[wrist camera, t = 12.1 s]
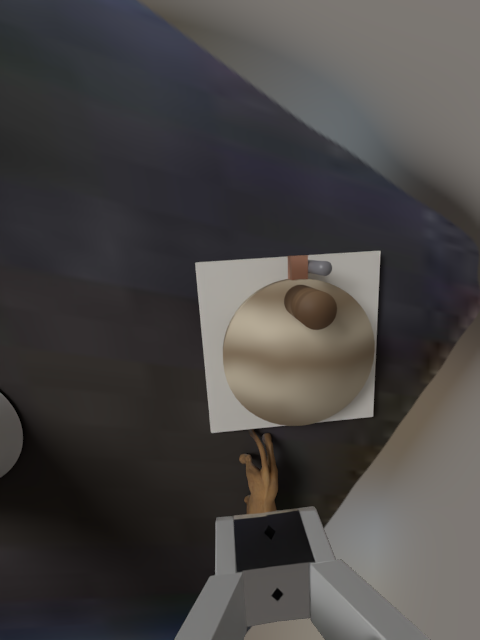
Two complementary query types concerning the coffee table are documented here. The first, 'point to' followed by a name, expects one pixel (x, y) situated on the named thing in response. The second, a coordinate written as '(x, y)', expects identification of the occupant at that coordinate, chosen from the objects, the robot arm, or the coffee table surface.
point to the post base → (244, 280)
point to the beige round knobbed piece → (298, 349)
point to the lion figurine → (261, 478)
